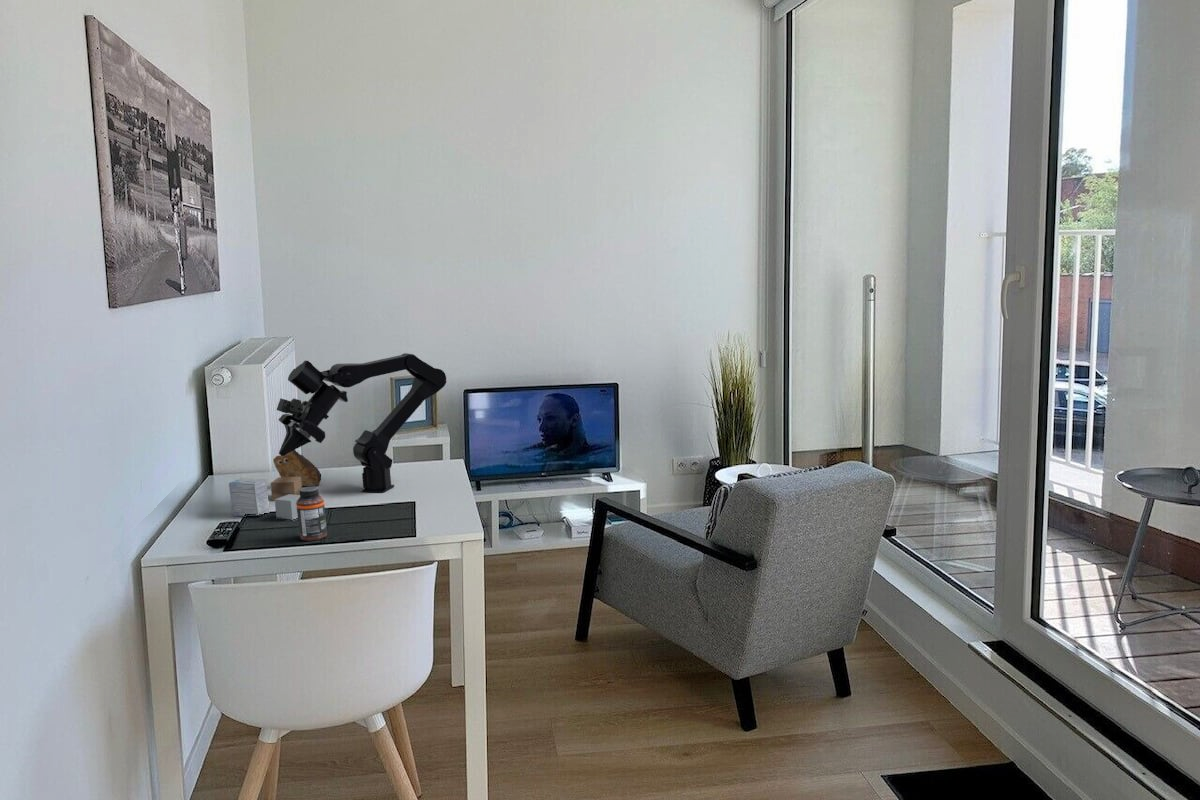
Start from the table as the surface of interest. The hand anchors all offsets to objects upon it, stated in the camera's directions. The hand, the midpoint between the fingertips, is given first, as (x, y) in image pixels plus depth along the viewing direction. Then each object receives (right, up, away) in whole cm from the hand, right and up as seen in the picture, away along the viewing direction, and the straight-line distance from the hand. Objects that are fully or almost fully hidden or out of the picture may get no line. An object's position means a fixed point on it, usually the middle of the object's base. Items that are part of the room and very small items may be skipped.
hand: (280, 454), depth 245 cm
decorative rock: (-3, -10, +25) cm, 27 cm away
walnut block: (-2, -12, +12) cm, 17 cm away
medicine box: (-6, -15, -3) cm, 16 cm away
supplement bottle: (+16, -17, -25) cm, 34 cm away
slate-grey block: (+5, -15, -7) cm, 17 cm away
